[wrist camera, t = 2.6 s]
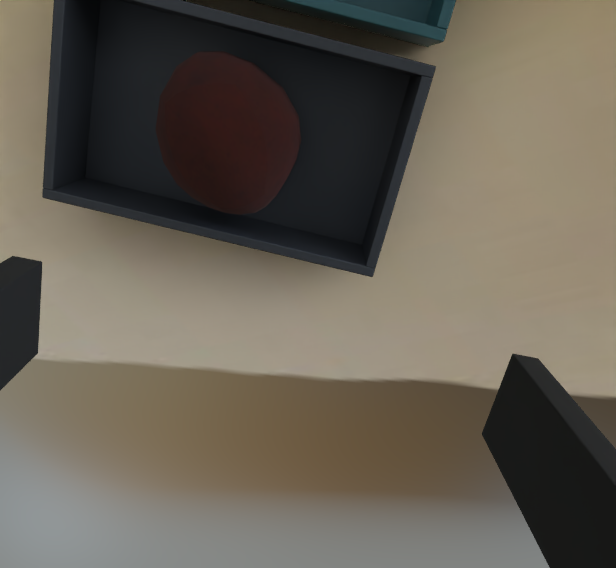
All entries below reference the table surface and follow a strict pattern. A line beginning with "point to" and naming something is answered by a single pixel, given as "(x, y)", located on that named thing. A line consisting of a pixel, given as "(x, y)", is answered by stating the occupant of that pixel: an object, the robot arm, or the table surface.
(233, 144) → the potato
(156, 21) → the box
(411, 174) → the table surface
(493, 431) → the robot arm
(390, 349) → the table surface
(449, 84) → the table surface
